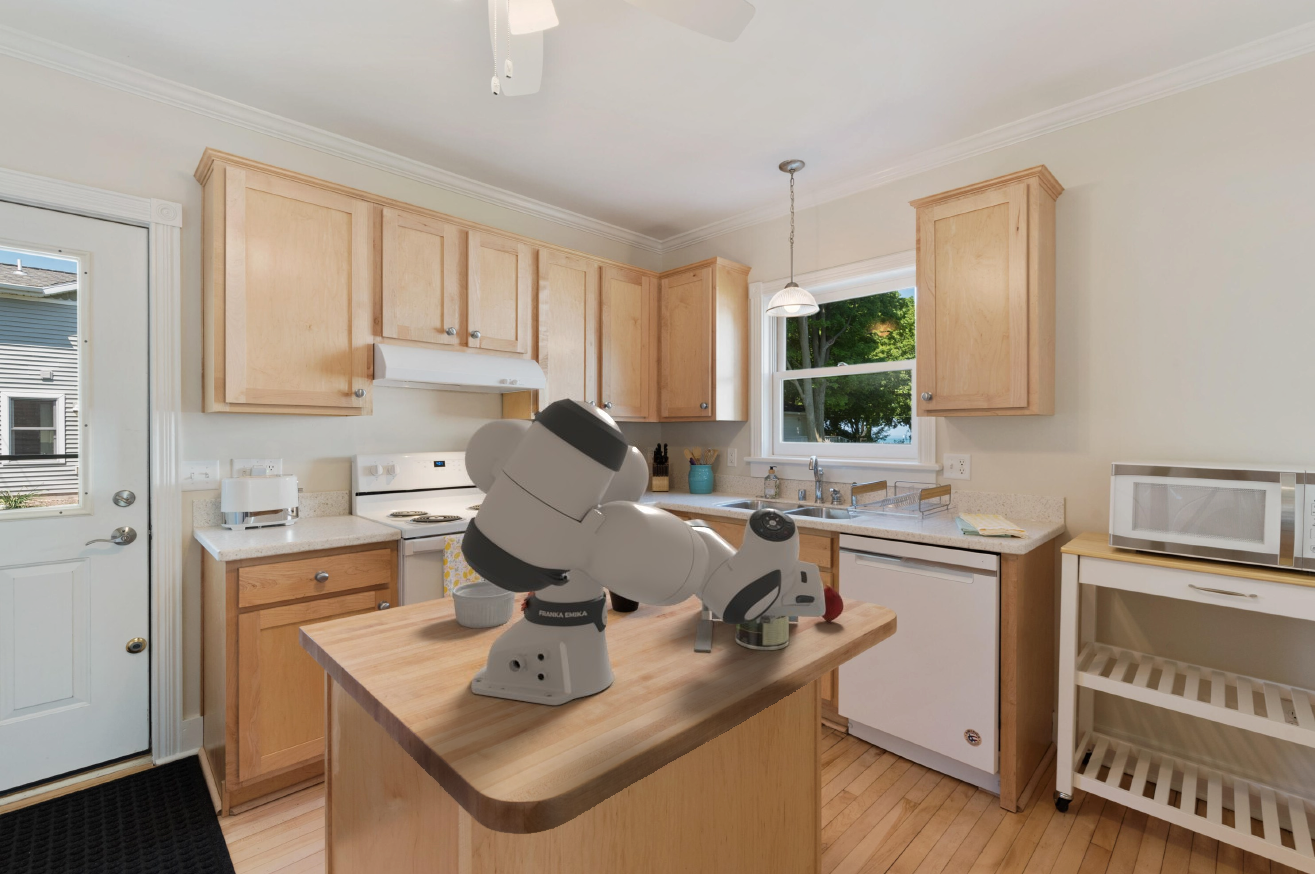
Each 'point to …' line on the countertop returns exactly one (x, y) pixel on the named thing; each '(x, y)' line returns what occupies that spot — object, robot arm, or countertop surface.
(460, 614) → the ramekin
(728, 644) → the countertop surface
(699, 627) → the door frame
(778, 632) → the coffee can
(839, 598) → the onion
